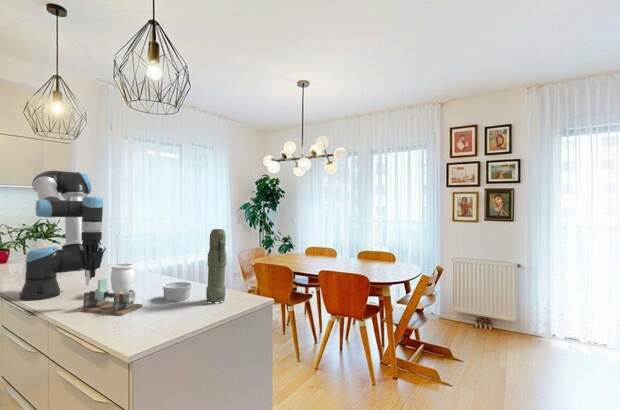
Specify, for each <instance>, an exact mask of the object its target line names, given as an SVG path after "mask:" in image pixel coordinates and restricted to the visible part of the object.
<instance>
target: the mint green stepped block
mask: <svg viewBox="0 0 620 410" xmlns="http://www.w3.org/2000/svg"><path fill="white" fill-rule="evenodd" d="M97 289H98V290H97ZM97 289H96V290H97V291H95V290H94V291H95V296H94V299H96V300H104V299H105V300H106V299H109V298H110V297H104V293H110V289H107V277H103V278H100V279H98V280H97Z"/></svg>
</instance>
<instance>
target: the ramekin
mask: <svg viewBox="0 0 620 410" xmlns="http://www.w3.org/2000/svg"><path fill="white" fill-rule="evenodd" d="M192 286H193V285H192V283H191V282H187V281H174V282H168V283H164V284H163V285H162V289H163V299H165V301H166V302H171V303H173V302H175V303H176V302H183V301H186V299H187V300H188V299H189V298H190V296H191V289H192Z"/></svg>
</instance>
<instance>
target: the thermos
mask: <svg viewBox="0 0 620 410" xmlns="http://www.w3.org/2000/svg"><path fill="white" fill-rule="evenodd" d="M226 237H227V235H226V231H225V230H224V229H220V228H214V229H211V231H210V234H209V244H208V245H209V250H208V253H207V286H206V291H205V292H206V293H205V294H206V295H205V297H206V301H207V302H211V303H215V302H221V301H224V300H225V301H226V299H225V298H226V285H225V284H226V283H225V281H226V280H225V275H226V266H227V250H226V244H227V243H226V239H227V238H226ZM207 302H206V303H207Z"/></svg>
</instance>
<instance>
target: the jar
mask: <svg viewBox="0 0 620 410" xmlns="http://www.w3.org/2000/svg"><path fill="white" fill-rule="evenodd" d="M110 267H111V269H112V270H111V272H110V284H111V290H112V291H113V293H112V294H117V293H118V292H123V293H124V292H129V290H133V286H134V281H135V275H136V274H135V269H134V268H135V267H136V265H135V264H134V263H116V264H113V265H111V266H110Z"/></svg>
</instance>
